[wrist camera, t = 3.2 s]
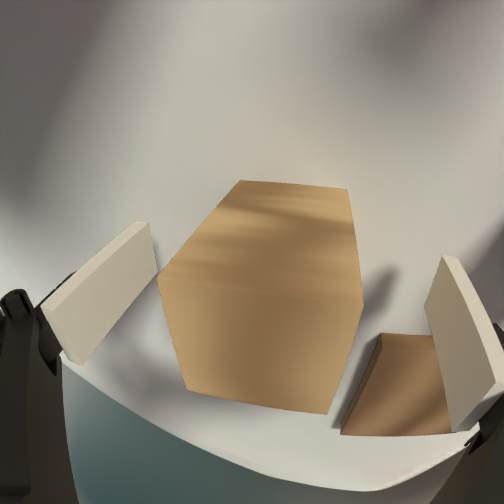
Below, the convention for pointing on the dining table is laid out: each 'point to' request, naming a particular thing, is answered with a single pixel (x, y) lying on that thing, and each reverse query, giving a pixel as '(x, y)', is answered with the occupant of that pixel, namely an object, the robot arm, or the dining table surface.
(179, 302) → the oak block
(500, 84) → the dining table surface
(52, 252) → the dining table surface
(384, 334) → the walnut board
